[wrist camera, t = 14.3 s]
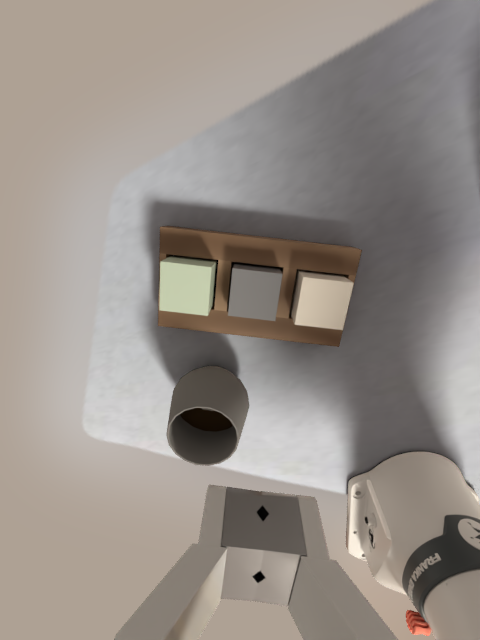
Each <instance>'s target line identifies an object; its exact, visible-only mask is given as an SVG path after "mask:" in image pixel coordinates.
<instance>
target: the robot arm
mask: <svg viewBox="0 0 480 640" xmlns="http://www.w3.org/2000/svg"><path fill="white" fill-rule="evenodd" d="M479 501H480V499H479V497H478V496H477V494H476V492H475V491H474V490H473V489H472V488H471V487H470V486H468V485H467V484H466V482H465V480H464V478H463V475H462V473H461V471H460V470H459V468H458V467H457V466H456V464H455V463H453V462H452V461H451V460H449V459H448V458H446V457H444V456H442V455H439V454H435V453H431V452H408V453H403V454H400V455H396V456H394V457H391V458H389V459H387V460H385V461H383V462H382V463H380V464H379V465H378V466H376V467H375V468H374V469H372V470H371V471H369V472H367V473H364V474H361V475H358V476H355V477H353V478H352V479H350V481H349V483H348V503H347V531H346V547H347V549H348V552H349V553H350V554H352V555H353V556H355V557H357V558H359V559H361V560H364V561H367V563H368V565H369V568H370V571H371V573H372V575H373V577H374V578H375V580H376V581H378V582H379V583H380V584H382V585H383V586H385V587H387V588H389V589H392V590H395V591H397V592H400V593H402V594H405V595H407V596H408V597H409V598H410V600H411V601H412V603H413V605H414V606H415V608H416V609H417V611H418V612H414V611H411V610H407V612H406V618H407V619H406V622H407V623H408V628H409V630H410V632H412V634H424V635H426V636H429V635H430V632H431V630H432V633H433V635H434V638H435V640H480V504H479ZM220 599H233V600H247V601H257V602H263V603H270V604H277V605H283V606H289V607H288V609H289V611H290V613H291V615H292V617H293V619H294V621H295V623H296V625H297V627H298V630H299V632H300V633H301V635H302V638H303V640H398V639H397V637H396V636H395V635H394V634H393V632H392V631H391V630H390V629H389V627H388V626H387V625H386V624H385V622H384V621H383V620H382V619H381V617H380V616H379V615H378V613H377V612H376V611H375V609H374V608H373V607H372V606H371V604H370V603H369V602H368V600H367V599H366V598H365V597H364V596H363V594H362V593H361V592H360V590H359V589H358V588H357V586H356V585H355V584H354V583H353V582H352V580H351V579H350V578H349V576H348V575H347V574H346V572H345V571H344V570H343V569H342V567H341V566H340V565H339V564H338V562H337V561H336V560H331V559H330V557H329V553H328V549H327V544H326V540H325V535H324V531H323V526H322V522H321V518H320V513H319V509H318V505H317V501H316V499H315V497H310V496H301V495H294V494H284V493H273V492H264V491H261V492H259V491H252V490H245V489H238V488H232V487H227V489H226V487H223V486H215V485H209V486H208V489H207V494H206V501H205V506H204V512H203V518H202V524H201V530H200V536H199V542H198V544H192V545H191V546H190V547H189V549H188V550H187V551H186V552H185V553H184V555H183V556H182V557H181V558H180V559H179V560H178V561H177V563H176V564H175V565H174V566H173V567H172V569H171V570H170V571H169V572H168V573H167V575H166V576H165V577H164V578H163V579H162V581H161V582H160V583H159V584H158V585H157V587H156V588H155V589H154V590H153V591H152V592H151V594H150V595H149V596H148V597H147V598H146V600H145V601H144V602H143V603H142V604H141V606H140V607H139V608H138V609H137V610H136V612H135V613H134V614H133V615H132V616H131V617H130V619H129V620H128V621H127V622H126V623H125V624H124V626H123V627H122V628H121V630H120V631H119V632H118V633H117V634H116V636H115V639H114V640H198V639H199V638H200V636H201V634H202V632H203V631H204V629H205V627H206V625H207V624H208V622H209V620H210V618H211V617H212V615H213V613H214V611H215V610H216V608H217V606H218V604H219V603H220Z"/></svg>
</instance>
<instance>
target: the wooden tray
mask: <svg viewBox="0 0 480 640" xmlns="http://www.w3.org/2000/svg"><path fill="white" fill-rule="evenodd" d="M361 252H362V250H360V249H357V248H354V247H348V246H339V245H331V244H322V243H313V242H304V241H296V240H287V239H278V238H270V237H261V236H252V235H243V234H235V233H226V232H217V231H208V230H200V229H191V228H182V227H174V226H163V227H160V256H159V302H160V261H162V260H164V259H166V258H168V257H170V256H173V255H179V256H188V257H197V258H206V259H214V260H218V270H217V282H216V294H215V302H213V305H212V308H211V310H210V312H209V314H208V316H204V315H196V314H187V313H178V312H170V311H161V310H159V306H158V326H164V327H172V328H181V329H189V330H198V331H207V332H215V333H224V334H233V335H241V336H250V337H259V338H267V339H276V340H285V341H293V342H302V343H311V344H319V345H328V346H337V347H339V345H340V340H341V336H342V332H343V330H337V329H328V328H320V327H311V326H302V325H295V324H294V322H293V319H292V316H291V314H290V306H291V300H292V295H293V289H294V283H295V277H296V271H297V269H301V270H310V271H319V272H327V273H336V274H341V275H343V276H344V277H346V278H347V279H349V280H350V281H352V282H353V283H354V281H355V277H356V273H357V269H358V264H359V260H360V256H361ZM233 262H240V263H249V264H258V265H266V266H275V267H281V268H280V270H281V272H282V281H281V287H280V294H279V300H278V306H277V313H276V319H275V321H270V320H261V319H253V318H244V317H235V316H228V309H229V295H230V285H231V274H232V264H233ZM353 286H354V284H353ZM352 290H353V289H352ZM351 294H352V293H351ZM350 298H351V297H350ZM349 302H350V301H349ZM348 307H349V305H348ZM347 311H348V310H347ZM346 315H347V314H346ZM345 319H346V318H345ZM344 324H345V322H344ZM343 328H344V327H343Z"/></svg>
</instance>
